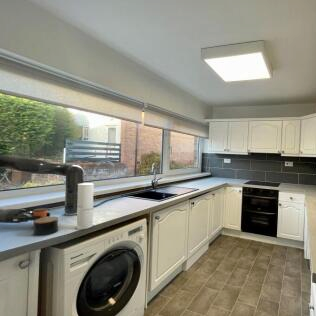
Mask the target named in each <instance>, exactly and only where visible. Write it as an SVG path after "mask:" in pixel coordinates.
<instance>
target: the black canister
mask: <svg viewBox="0 0 316 316" xmlns="http://www.w3.org/2000/svg"><path fill="white" fill-rule="evenodd" d="M58 230H59V217H58V216H49V217H44V218H39V219H36V220H35V221H34V228H33V236H36V237H43V236H49V235H53V234H55V233H57V232H58Z"/></svg>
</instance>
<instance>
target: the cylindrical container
mask: <svg viewBox="0 0 316 316" xmlns="http://www.w3.org/2000/svg"><path fill="white" fill-rule="evenodd" d="M94 186H95V184H94V183H93V182H83V183H82V184H78V203H77V214H76V229H77V230H87V229H90V228H92V227H93V222H94V221H93V219H94V218H93V217H94V207H93V206H94V192H95V187H94Z"/></svg>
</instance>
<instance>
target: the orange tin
mask: <svg viewBox="0 0 316 316" xmlns="http://www.w3.org/2000/svg"><path fill="white" fill-rule="evenodd" d="M32 212H34V216H41V218H44V217H47V213H48V208H47V207H41V208H35V209H33V211H32ZM34 221H35V220H32V223H33V224H32V228H33V229H34Z"/></svg>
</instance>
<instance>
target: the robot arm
mask: <svg viewBox="0 0 316 316" xmlns="http://www.w3.org/2000/svg"><path fill="white" fill-rule="evenodd" d="M0 168H1V169H7V170H11V171H14V172H19V173H26V174H34V175H54V176H55V175H56V176H62V177H65V191H64V192H65V193H64V196H65V197H64V209H63V210H64V213H63V214H64V215H65V216H75V215H76V216H77V203H78V184H82V183H84V176H85V175H84V169H83V168H82V167H81V166H80V165H78V164H77V165H76V164H64V163H63V164H62V163H57V162H52V161H48V160H43V159H39V158H38V159H37V158H34V157H33V158H32V157H24V156H10V155H4V154H0ZM130 195H132V192H129V194H125V195H121V196H116V197H112V198H108V199H105V200H103V201H101V202H100V203H98V204H95V205H93V208H96V207H99V206H100V205H102V204H103V203H105V202H107V201H111V200H115V199H119V198H124V197H128V196H130ZM47 217H51V212H47ZM39 218H41V216H34V211H27V210H26V209H24V208H6V209H5V208H0V223H1V224H20V223H27V222H29V221H30V222H31V221H32V222H33V220H36V219H39Z"/></svg>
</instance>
